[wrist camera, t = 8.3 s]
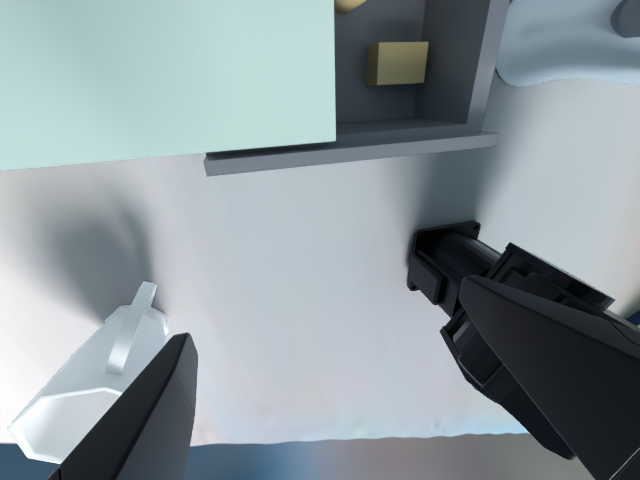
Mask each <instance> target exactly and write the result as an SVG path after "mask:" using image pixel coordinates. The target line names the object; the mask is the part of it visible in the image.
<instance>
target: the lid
mask: <svg viewBox="0 0 640 480" xmlns="http://www.w3.org/2000/svg"><path fill="white" fill-rule="evenodd" d="M332 141H336V112H335V44H334V0H0V171H3V170H15V169H26V168H37V167H49V166H60V165H71V164H83V163H94V162H105V161H117V160H128V159H139V158H151V157H162V156H173V155H185V154H196V153H207V152H219V151H230V150H241V149H253V148H264V147H275V146H287V145H298V144H309V143H321V142H332Z"/></svg>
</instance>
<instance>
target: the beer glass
mask: <svg viewBox="0 0 640 480" xmlns="http://www.w3.org/2000/svg"><path fill="white" fill-rule="evenodd" d="M495 66H496V69H497V72H498V74H499V76H500V77H501V79H502V80H503V81H504V82H506V83H507V84H509V85H512V86H516V87H523V86H530V85H534V84H538V83H542V82H546V81H551V80H556V79H565V78H582V79H590V80H598V81H605V82H611V83H617V84H624V85H630V86H637V87H640V0H512V1H511V3H510V4H509V6H508V11H507V16H506V20H505V25H504V29H503V34H502V38H501V43H500V47H499V52H498V56H497V61H496V65H495Z"/></svg>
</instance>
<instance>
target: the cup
mask: <svg viewBox="0 0 640 480" xmlns="http://www.w3.org/2000/svg"><path fill="white" fill-rule="evenodd" d="M156 287H157V284H154V283H150V282H145V281H143V283H142V284H141V286H140V288H139V290H138V292H137V294H136V296H135V298H134V300H133V302H132V304H131V305H122V306H120V307H118V308H117V309H116V310H115V311H114V312H113V313H112V314H111V315H110V316H109V317H108V318H107V319H106V320H105V322H104V325H103V326H102V327H101V328H100V329H98V330H97V331H96V332H95V333H94V334H93V335H92V336H91V337H90V338H89V339H88V340H87V341H86V342H85V343H84V344H82V345H81V346H80V347H79V348H78V349H77V350H76V351H75V352H74V353H73V354H72V355H71V356H70V358H69V359H68V360H67V361H66V362H65V363H64V364H63V366H62V367H61V368H60V369H59V370H58V371H57V372H56V374H55V375H54V376H53V377H52V378H51V379H50V380H49V382H48V383H47V384H46V385H45V386H44V387H43V388H42V389H41V390H40V392H39V393H38V394H37V395H36V396H35V397H34V398H33V399H32V400H31V401H30V403H29V404H28V405H27V406H26V407H25V408H24V409H23V410H22V412H21V413H20V414H19V415H18V416H17V417H16V418H15V419H14V421H13V422H12V423H11V424H10V425H9V426H8V427H7V429H8V431H9V432H10V434H11V435H12V437H13V438H14V439H15V441H16V442H17V444H18V445H19V447H20V448H21V449H22V450H23V452H24V454H25V455H26V456H27V458H31V459H36V460H41V461H47V462H52V463H57V464H61V463H62V462H63V461H64V459H65V458H66V457H67V456H68V455H69V454H70V453H71V451H72V450H73V449H74V448H75V447H76V446H77V445H78V443H79V442H80V441H81V440H82V439H83V438H84V437H85V435H86V434H87V433H88V432H89V431H90V430H91V429H92V428H93V426H94V425H95V424H96V423H97V422H98V421H99V420H100V418H101V417H102V416H103V415H104V414H105V413H106V412H107V410H108V409H109V408H110V407H111V406H112V405H113V404H114V402H115V401H116V400H117V399H118V398H119V397H120V396H121V394H122V393H123V392H124V391H125V390H126V389H127V388H128V386H129V385H130V384H131V383H132V382H133V381H134V380H135V378H136V377H137V376H138V375H139V374H140V373H141V372H142V370H143V369H144V368H145V367H146V366H147V365H148V364H149V363H150V361H151V360H152V359H153V358H154V357H155V356H156V355H157V353H158V352H159V351H160V350H161V349H162V348H163V347H164V345H165V344H166V343H167V340H166V336H165V335H166V334H167V333H168V330H169V329H168V324H167V319H166V314H165V313H163V312H161V311H159V310H157V309H155V308H153V307H151V304H152V301H153V298H154V295H155V291H156Z"/></svg>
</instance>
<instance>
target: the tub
mask: <svg viewBox="0 0 640 480" xmlns="http://www.w3.org/2000/svg"><path fill="white" fill-rule="evenodd" d="M509 2H510V0H334V44H335V112H336V141H332V142H321V143H309V144H298V145H287V146H275V147H264V148H253V149H241V150H230V151H219V152H207V153H206V155H207V156H206V158H205V160H204V166H205V170H206V174H207V176H217V175H226V174H236V173H245V172H255V171H265V170H274V169H284V168H293V167H303V166H312V165H322V164H331V163H341V162H351V161H360V160H370V159H379V158H389V157H398V156H408V155H417V154H427V153H437V152H446V151H456V150H465V149H475V148H484V147H494V146H496V144H497V140H498V136H499V134H497V133H491V132H484V131H481V129H482V124H483V120H484V115H485V111H486V106H487V102H488V97H489V93H490V88H491V83H492V79H493V74H494V70H495V65H496V61H497V56H498V52H499V47H500V43H501V38H502V34H503V29H504V25H505V20H506V16H507V11H508V6H509Z"/></svg>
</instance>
